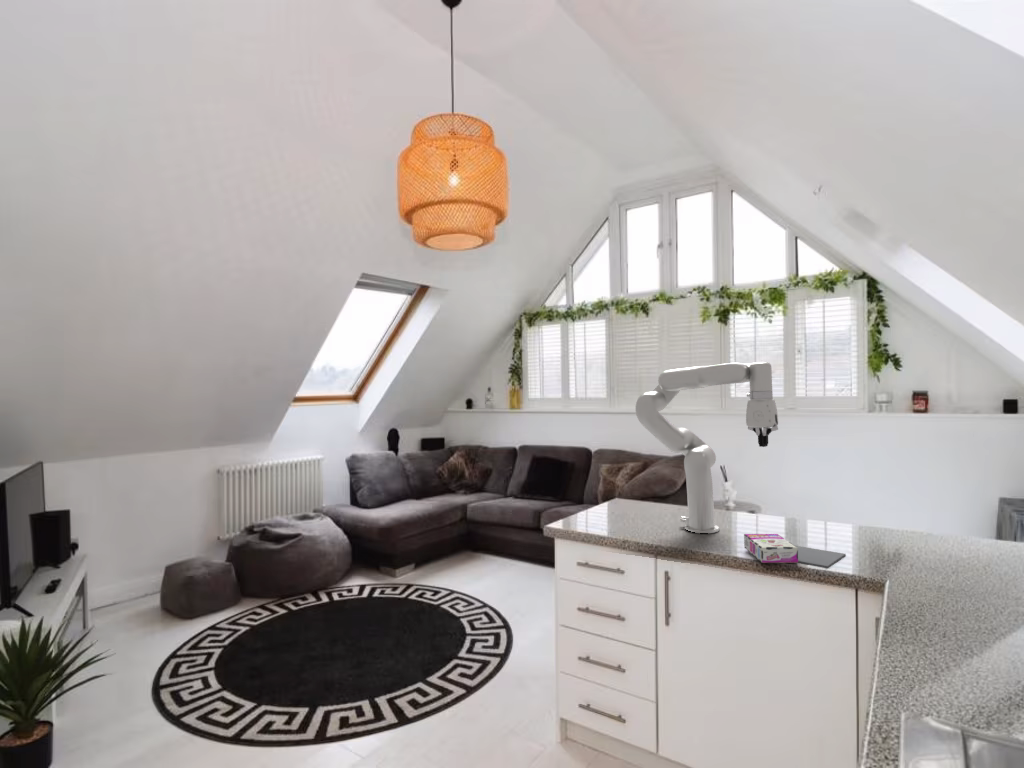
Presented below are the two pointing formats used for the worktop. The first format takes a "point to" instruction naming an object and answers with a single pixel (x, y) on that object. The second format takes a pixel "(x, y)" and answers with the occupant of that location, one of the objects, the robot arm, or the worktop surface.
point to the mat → (818, 556)
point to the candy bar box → (771, 548)
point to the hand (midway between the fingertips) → (763, 446)
